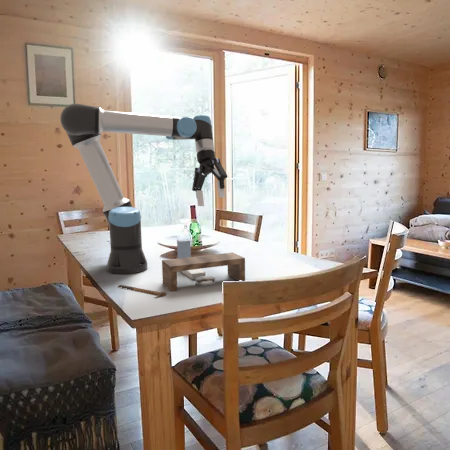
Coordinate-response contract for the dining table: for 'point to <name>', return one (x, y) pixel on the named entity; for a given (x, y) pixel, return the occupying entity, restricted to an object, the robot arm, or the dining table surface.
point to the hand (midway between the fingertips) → (211, 201)
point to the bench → (202, 266)
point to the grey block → (184, 252)
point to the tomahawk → (145, 291)
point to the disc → (205, 280)
